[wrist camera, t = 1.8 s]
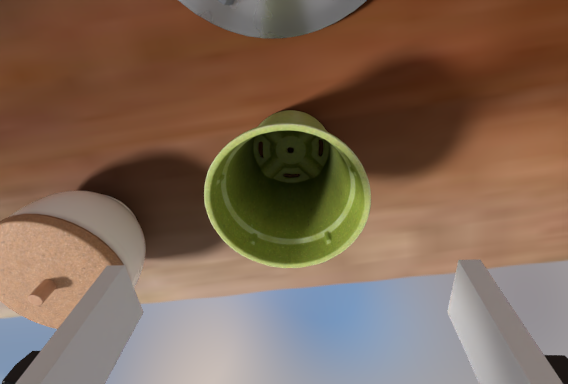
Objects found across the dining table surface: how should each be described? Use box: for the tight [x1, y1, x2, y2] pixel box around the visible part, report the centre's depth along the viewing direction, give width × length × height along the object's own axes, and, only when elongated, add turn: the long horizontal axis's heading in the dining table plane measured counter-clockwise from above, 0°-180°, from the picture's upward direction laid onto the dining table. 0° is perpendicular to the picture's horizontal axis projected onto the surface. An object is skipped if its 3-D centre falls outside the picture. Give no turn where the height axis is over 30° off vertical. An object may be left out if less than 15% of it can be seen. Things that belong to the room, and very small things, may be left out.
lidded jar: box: [0, 191, 146, 329], centre depth 27 cm, size 11×11×9 cm
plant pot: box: [204, 110, 371, 268], centre depth 23 cm, size 9×9×9 cm
